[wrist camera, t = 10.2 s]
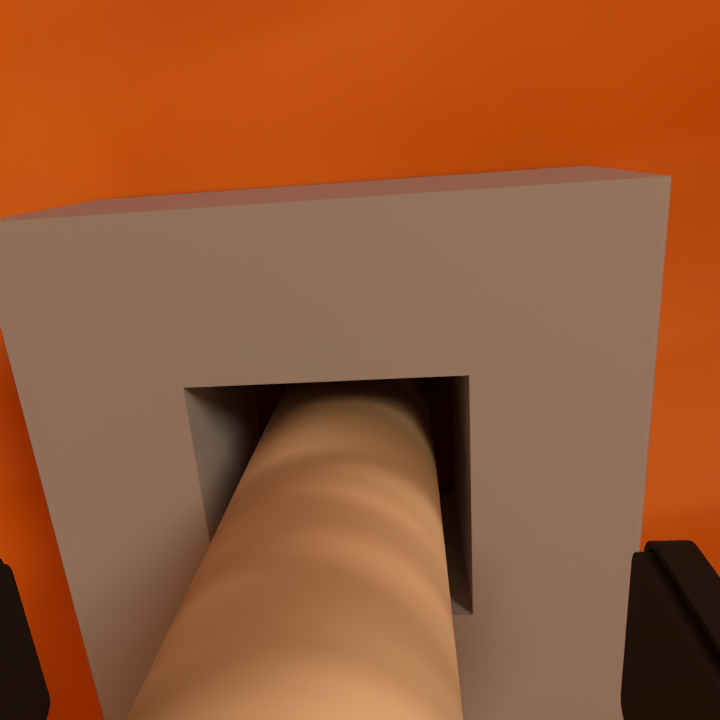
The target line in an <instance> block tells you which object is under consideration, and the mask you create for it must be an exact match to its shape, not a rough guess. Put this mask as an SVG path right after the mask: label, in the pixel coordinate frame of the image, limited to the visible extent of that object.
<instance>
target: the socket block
mask: <svg viewBox="0 0 720 720" xmlns="http://www.w3.org/2000/svg"><path fill="white" fill-rule="evenodd" d="M671 177H672V176H667V175H659V174H651V173H643V172H635V171H626V170H618V169H610V168H602V167H594V166H574V167H559V168H545V169H531V170H516V171H502V172H488V173H473V174H459V175H444V176H430V177H416V178H401V179H387V180H373V181H358V182H344V183H330V184H315V185H301V186H286V187H272V188H258V189H243V190H229V191H215V192H200V193H186V194H172V195H157V196H143V197H128V198H114V199H100V200H95V201H89V202H84V203H79V204H73V205H68V206H63V207H57V208H52V209H46V210H41V211H36V212H30V213H25V214H20V215H14V216H9V217H4V218H0V327H1V331H2V335H3V338H4V342H5V346H6V350H7V354H8V357H9V361H10V365H11V369H12V373H13V376H14V380H15V384H16V388H17V392H18V395H19V399H20V403H21V407H22V411H23V414H24V418H25V422H26V426H27V430H28V433H29V437H30V441H31V445H32V448H33V452H34V456H35V460H36V464H37V467H38V471H39V475H40V479H41V483H42V486H43V490H44V494H45V498H46V502H47V505H48V509H49V513H50V517H51V521H52V524H53V528H54V532H55V536H56V540H57V543H58V547H59V551H60V555H61V559H62V562H63V566H64V570H65V574H66V578H67V581H68V585H69V589H70V593H71V596H72V600H73V604H74V608H75V612H76V615H77V619H78V623H79V627H80V631H81V634H82V638H83V642H84V646H85V650H86V653H87V657H88V661H89V665H90V669H91V672H92V676H93V680H94V684H95V688H96V691H97V695H98V699H99V703H100V707H101V710H102V714H103V718H104V720H126V719H127V716H128V714H129V712H130V710H131V708H132V706H133V704H134V702H135V700H136V698H137V696H138V693H139V691H140V689H141V687H142V685H143V683H144V681H145V679H146V677H147V675H148V673H149V670H150V668H151V666H152V664H153V662H154V660H155V658H156V656H157V654H158V652H159V650H160V647H161V645H162V643H163V641H164V639H165V637H166V635H167V633H168V631H169V629H170V627H171V624H172V622H173V620H174V618H175V616H176V614H177V612H178V610H179V608H180V606H181V604H182V601H183V599H184V597H185V595H186V593H187V591H188V589H189V587H190V585H191V583H192V581H193V578H194V576H195V574H196V572H197V570H198V568H199V566H200V564H201V562H202V560H203V558H204V555H205V553H206V551H207V549H208V547H209V545H210V543H211V541H212V539H213V537H214V535H215V532H216V530H217V528H218V526H219V524H220V522H221V520H222V518H223V516H224V514H225V512H226V509H227V507H228V505H229V503H230V501H231V499H232V497H233V495H234V493H235V491H236V489H237V486H238V484H239V482H240V480H241V478H242V476H243V474H244V472H245V470H246V468H247V466H248V463H249V461H250V459H251V457H252V455H253V453H254V451H255V449H256V447H257V445H258V443H259V440H260V438H261V436H260V429H259V421H258V414H257V406H256V399H255V391H254V385H259V384H282V383H305V382H328V381H350V380H373V379H396V378H419V377H442V376H451V379H452V419H453V459H454V491H448V492H439V497H440V507H441V516H442V525H443V535H444V544H445V553H446V563H447V572H448V582H449V591H450V600H451V610H452V619H453V628H454V638H455V647H456V656H457V666H458V675H459V685H460V694H461V703H462V713H463V720H624V719H623V715H622V709H621V683H622V671H623V659H624V647H625V634H626V622H627V610H628V598H629V585H630V573H631V561H632V556H633V554H634V553H635V552H639V551H640V540H641V528H642V516H643V505H644V493H645V481H646V469H647V458H648V446H649V434H650V423H651V411H652V399H653V387H654V376H655V364H656V352H657V341H658V329H659V317H660V306H661V294H662V282H663V270H664V259H665V247H666V235H667V224H668V212H669V200H670V188H671Z"/></svg>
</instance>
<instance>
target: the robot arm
mask: <svg viewBox="0 0 720 720" xmlns="http://www.w3.org/2000/svg"><path fill="white" fill-rule="evenodd" d="M49 707H50V698H49V693H48V690H47V686H46V683H45V680H44V676H43V673H42V669H41V666H40V663H39V659H38V656H37V653H36V649H35V646H34V642H33V639H32V636H31V632H30V629H29V626H28V622H27V619H26V615H25V612H24V609H23V605H22V602H21V599H20V595H19V592H18V588H17V585H16V582H15V578H14V575H13V572H12V570H11V568H10V567H9V566H8V565H6V564H3V561H2V559H0V720H46V719H47V716H48V712H49ZM621 709H622V715H623V719H624V720H720V577H719V576H718V574H717V573H716V572H715V570H714V569H713V567H712V566H711V565H710V563H709V562H708V561H707V559H706V558H705V556H704V555H703V554H702V552H701V551H700V550H699V548H698V547H697V546H696V545H695V544H694V543H693V542H692V541H689V540H675V541H649V542H647V543H646V545H645V548H644V552H635V553H634V554H633V556H632V561H631V573H630V585H629V598H628V610H627V622H626V634H625V647H624V659H623V671H622V683H621Z"/></svg>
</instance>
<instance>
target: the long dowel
mask: <svg viewBox="0 0 720 720" xmlns="http://www.w3.org/2000/svg"><path fill="white" fill-rule="evenodd" d="M126 720H463V713H462V703H461V694H460V685H459V675H458V666H457V656H456V647H455V638H454V628H453V619H452V610H451V600H450V591H449V582H448V572H447V563H446V553H445V544H444V535H443V525H442V516H441V507H440V497H439V488H438V479H437V469H436V460H435V450H434V441H433V432H432V422H431V413H430V404H429V395H428V391H427V387H426V384H425V382H424V379H423V377H419V378H396V379H373V380H350V381H328V382H305V383H287V384H286V386H285V388H284V390H283V392H282V394H281V397H280V399H279V401H278V403H277V405H276V407H275V409H274V411H273V413H272V415H271V417H270V420H269V422H268V424H267V426H266V428H265V430H264V432H263V434H262V436H261V438H260V440H259V443H258V445H257V447H256V449H255V451H254V453H253V455H252V457H251V459H250V461H249V463H248V466H247V468H246V470H245V472H244V474H243V476H242V478H241V480H240V482H239V484H238V486H237V489H236V491H235V493H234V495H233V497H232V499H231V501H230V503H229V505H228V507H227V509H226V512H225V514H224V516H223V518H222V520H221V522H220V524H219V526H218V528H217V530H216V532H215V535H214V537H213V539H212V541H211V543H210V545H209V547H208V549H207V551H206V553H205V555H204V558H203V560H202V562H201V564H200V566H199V568H198V570H197V572H196V574H195V576H194V578H193V581H192V583H191V585H190V587H189V589H188V591H187V593H186V595H185V597H184V599H183V601H182V604H181V606H180V608H179V610H178V612H177V614H176V616H175V618H174V620H173V622H172V624H171V627H170V629H169V631H168V633H167V635H166V637H165V639H164V641H163V643H162V645H161V647H160V650H159V652H158V654H157V656H156V658H155V660H154V662H153V664H152V666H151V668H150V670H149V673H148V675H147V677H146V679H145V681H144V683H143V685H142V687H141V689H140V691H139V693H138V696H137V698H136V700H135V702H134V704H133V706H132V708H131V710H130V712H129V714H128V716H127V719H126Z"/></svg>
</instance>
